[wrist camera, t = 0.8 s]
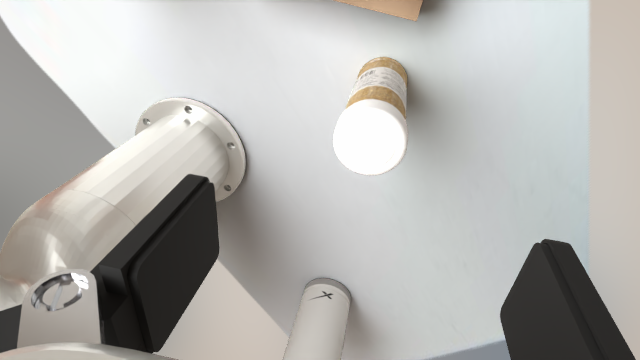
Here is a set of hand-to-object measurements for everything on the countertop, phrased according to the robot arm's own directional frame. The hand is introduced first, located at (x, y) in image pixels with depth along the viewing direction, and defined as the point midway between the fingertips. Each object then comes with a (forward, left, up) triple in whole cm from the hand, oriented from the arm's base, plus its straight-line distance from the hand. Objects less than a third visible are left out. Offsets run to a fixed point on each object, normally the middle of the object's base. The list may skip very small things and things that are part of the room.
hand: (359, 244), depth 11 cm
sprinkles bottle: (-3, 0, -26) cm, 26 cm away
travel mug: (-32, -1, -26) cm, 41 cm away
